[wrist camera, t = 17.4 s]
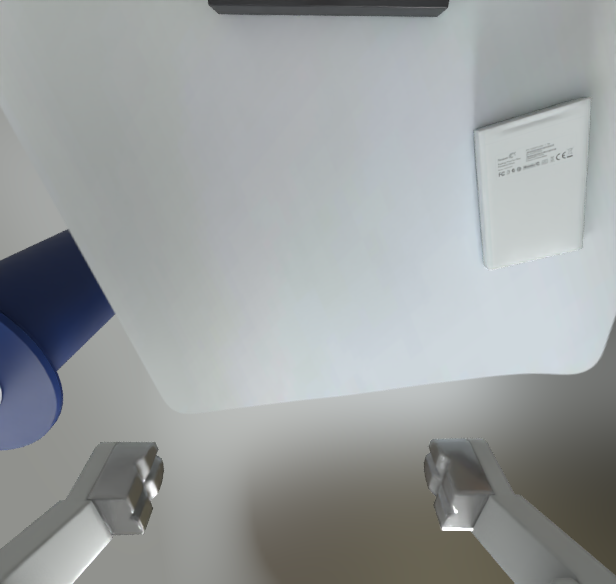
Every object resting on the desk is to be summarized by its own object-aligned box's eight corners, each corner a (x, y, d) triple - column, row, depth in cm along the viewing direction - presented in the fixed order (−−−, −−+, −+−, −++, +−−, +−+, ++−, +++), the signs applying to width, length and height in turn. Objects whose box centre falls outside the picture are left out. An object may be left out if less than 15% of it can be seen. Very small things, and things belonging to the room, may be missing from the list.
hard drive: (481, 264, 34) (472, 129, 28) (573, 242, 32) (581, 96, 27) (488, 271, 32) (479, 131, 27) (584, 249, 31) (595, 96, 25)
